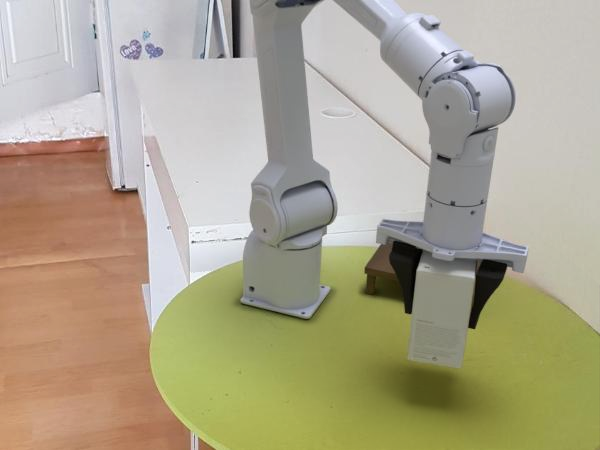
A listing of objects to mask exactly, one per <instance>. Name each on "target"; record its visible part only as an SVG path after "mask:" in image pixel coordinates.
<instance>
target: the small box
mask: <svg viewBox="0 0 600 450" xmlns="http://www.w3.org/2000/svg"><path fill="white" fill-rule="evenodd" d="M476 270H477V260H472V259H467V258H454V260H452V261H446V260H441V259H437V258H434V257H432V252H429V251H426V250H423V251H422V255H421V259H420V263H419V266H418V268H417V272H416V282H415V291H414V299H413V308H412V314H411V318H410V327H409V334H408V335H409V337H408V345H407V357H406V358H407V360H408V361H413V362H419V363H425V364H429V365H436V366H441V367H449V368H453V369H463V364H464V357H465V353H466V352H465V350H466V344H467V337H468V331H469V328H468V325H469V318H470V314H471V310H472V306H473V300H474V295H473V292H474V285H475V278H476Z"/></svg>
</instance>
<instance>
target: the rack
mask: <svg viewBox="0 0 600 450" xmlns="http://www.w3.org/2000/svg"><path fill="white" fill-rule="evenodd" d="M392 246H393V243H389V242H388V243H387V244H385V245H383V244H379V246H378V247H377V249H376V250H375V252H374V253H373V255H372V256H371V257H370V259H369V260H368V262H367V263H366V264H365V266H364V271H363V274H365V275H366V285H365V294H368V295H374V294H375V292H376V284H377V283H376V282H377V277H379V278H383V279H388V280H392V281H396V282H399V281H398V278H397V276H396V274H395V272H394V270H393V268H392V266H391V264H390V261H389V254H390V253H391V251H392ZM481 262H482V261H477V270H476V274H477V271H478V269H479V266H480V264H481ZM475 279H476V278H475ZM474 291H475V285H474ZM473 296H474V292H473Z"/></svg>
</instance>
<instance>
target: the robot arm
mask: <svg viewBox="0 0 600 450" xmlns="http://www.w3.org/2000/svg"><path fill="white" fill-rule="evenodd" d="M324 1H325V0H249V9H250V14H251V15H252V16H251V17H252V24H253V32H254V42H255V51H256V60H257V70H258V71H257V72H258V79H259V88H260V89H259V90H260V98H261V106H262V107H261V108H262V116H263V117H262V119H263V126H264V135H265V143H266V145H265V146H266V152H267V153H266V154H267V162H266V164H265V165H264V167H263V168H262V169H261V170H260V172H259V173H258V174H257V175H256V176H255V177H254V178H253V180H252V181H251V183H250V187H251V200H250V204H249V211H248V213H249V222H250V225H251V228H252V230H251V232H249V234H248V236H247V237H246V241H245V242H244V243H245V244H244V248H243V255H242V297H241V298H240V303H241V304H243V305H248V306H252V307H256V308H260V309H264V310H268V311H273V312H276V313H277V312H278V313H281V314H284V315H289V316H293V317H296V318H301V319H305V320H308V319H311V318H312V316H313V315H314V313H315V312H316V311H317V310H318V308H319V307H320V305H321V304H322V303H323V301H325V299H326V297H327V296H328V294H329V293H330V292H331V287H330V286H328V285H324V284H321V276H322V275H321V273H322V250H323V237H324V236H326V235H327V234H328V226H330V225H331V224H333V223H335V220H336V218H337V216H338V211H339V210H338V199H337V196H336V193H335V191H334V189H333V186H332V182H331V175H330V170H329V169H327V168H326V167H325V166H324V165H322V164H321V163H319V162H318V161H316V160H315V159H314V154H313V142H312V141H313V140H312V130H311V118H310V111H309V110H310V107H309V98H308V86H307V74H306V63H305V53H304V39H303V30H302V24H303V22H304V21H305V20H306V18H307V17H308V16H309V14H310V13H312V11H313V10H314V8H316V7H317V6H319V5H320V4H322V3H323V2H324ZM332 1H333V2H334V3H335V4H337V5H338V6H339V7H340V8H341V9H342V10H344V11H345V12H346V13H347V14H348V15H349V16H351V17H352V18H353V19H354V20H355V21H356V22H358V23H359V24H360V25H361V26H362V27H363V28H364V29H366V30H367V31H368V32H369V33H370V34H372V35H373V36H374V37H375V38H376V39H377V40H378V41H380V42H379V43H380V44H379V56H380V58H381V60H382V61H383V62H384V63H385V65H387V66H388V68H389V69H390V70H391V71H392V72H393V73H395V75H396V76H397V77H398V78H399V79H401V81H402V82H404V84H405V85H406V86H407V87H408V88H409V89H411V91H412V92H413V93H414V94H415V95H416V96H417V97H418V98H419V99H420V100H421V106H422V107H421V108H422V113H423V117H424V120H425V122H426V124H427V126H428V130H429V137H428V145H430V160H429V168H428V177H427V185H426V193H425V203H424V211H423V221H412V220H411V221H409V220H394V219H389V218H388V219H387V218H382V219H381V220H380V222H379V223H378V225H377V226H376V235H375V236H376V237H375V243H376V244H379V245H381V244H383V245H385V244H387V243H388V242H389V243H393V246H392V251H391V253H390V254H389V261H390V264H391V266H392V268H393V270H394V272H395V274H396V276H397V278H398V281H397V282H398V283H399V287H400V290H401V294H402V295H401V296H402V299H403V305H404V306H403V309H404V313H405V314H407V315H412V308H413V299H414V291H415V282H416V272H417V268H418V266H419V263H420V259H421V255H422V251H423V250H426V251H429V252H432V257H434V258H437V259H441V260H446V261H452V260H454V258H467V259H472V260H477V261H482V262H481V264H480V266H479V269H478V271H477V274H476V279H475V291H474V295H473V299H472V306H471V312H470V318H469V325H468V329H470V330H476V328H477V325H478V322H479V318H480V315H481V313H482V311H483V309H484V307H485V305H486V304H487V302H488V301H489V300H490V298H491V296H492V295H493V294H494V293H495V291H497V289H498V288H499V287H500V285H501V284H502V283H503V281H504V279H505V275H506V272H507V270H508V268H511V270H512V272H515V273H519V274H524V273H525V270H526V265H527V261H528V255H529V250H530V247H529V246H526V245H520V244H517V243H514V242H511V241H508V240H505V239H503V238H500V237H497V236H494V235H491V234H488V233H486V232H483V231H484V226H485V219H486V212H487V205H488V198H489V193H490V185H491V181H492V180H491V179H492V173H493V166H494V160H495V154H496V146H497V141H498V133H499V127H498V126H500V125H502V124H503V123H505V122H506V121H508V120H509V118H510V117H511V116H512V114H513V112H514V110H515V106H516V101H517V100H516V99H517V98H516V89H515V85H514V83H513V81H512V79H511V77H510V76H509V75H508V74H507V73H506V71H505V69H504V68H503V66H502V65H500V64H498V63H494V62H480V61H478V60H477V59H476V58H475V55H474V54H472V52H470V50H469V49H465V50H464V49H463V48H462V47H461V46H460V45H458V43H456V42H455V40H453V39H452V38H451V37H450V36H449V35H448V34H447V33H445V32H444V30H443V29H441V27H440V25H441V20H439V19H438V17H436V16H435V15H433V14H429V15H426V14H425V13H423V12H411V13H408V14H407V13H406V12H405V11H404V10H403V9H402V7H401V6H400V5H399V4H398V3H397V2H396V1H395V0H332Z"/></svg>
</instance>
